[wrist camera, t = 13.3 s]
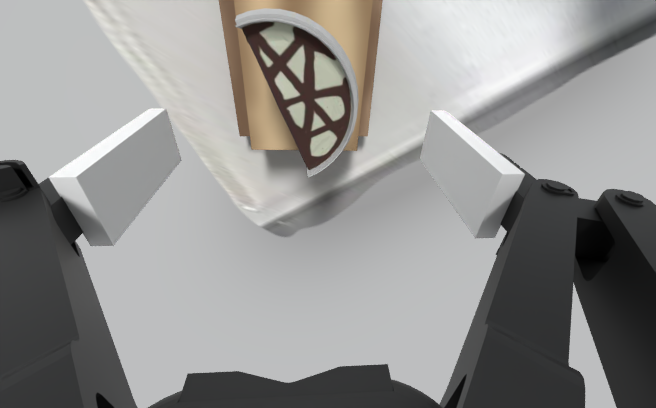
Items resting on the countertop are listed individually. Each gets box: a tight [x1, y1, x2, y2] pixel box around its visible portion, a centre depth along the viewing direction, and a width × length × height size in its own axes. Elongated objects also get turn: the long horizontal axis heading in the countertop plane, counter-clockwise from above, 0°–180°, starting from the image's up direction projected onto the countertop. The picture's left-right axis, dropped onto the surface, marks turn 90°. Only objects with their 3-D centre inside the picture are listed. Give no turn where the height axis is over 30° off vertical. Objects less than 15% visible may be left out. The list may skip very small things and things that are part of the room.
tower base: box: [219, 0, 382, 136], centre depth 33 cm, size 16×16×4 cm
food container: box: [235, 8, 359, 178], centre depth 24 cm, size 12×6×10 cm, turn 20°
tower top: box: [234, 0, 373, 151], centre depth 30 cm, size 12×16×4 cm
